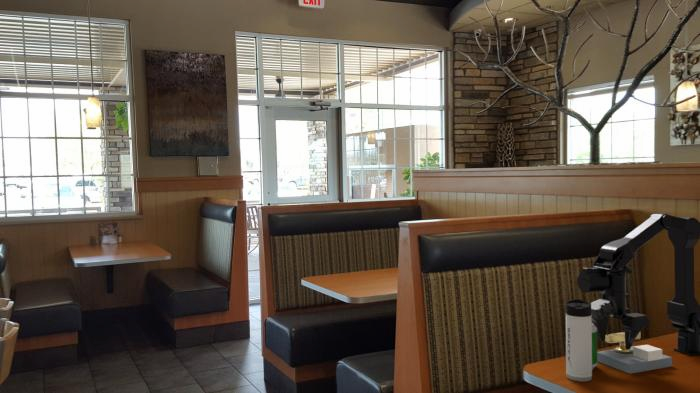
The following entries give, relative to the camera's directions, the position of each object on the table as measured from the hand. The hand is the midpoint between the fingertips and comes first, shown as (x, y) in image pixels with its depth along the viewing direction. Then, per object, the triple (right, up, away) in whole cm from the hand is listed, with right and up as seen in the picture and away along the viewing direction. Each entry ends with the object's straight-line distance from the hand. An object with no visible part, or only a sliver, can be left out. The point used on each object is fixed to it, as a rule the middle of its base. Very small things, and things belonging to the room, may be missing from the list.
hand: (615, 345), depth 164 cm
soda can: (-11, -5, -4) cm, 12 cm away
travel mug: (-15, -6, -12) cm, 20 cm away
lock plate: (+4, -5, -2) cm, 7 cm away
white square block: (+7, -2, -5) cm, 9 cm away
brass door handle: (+3, -2, +1) cm, 4 cm away
